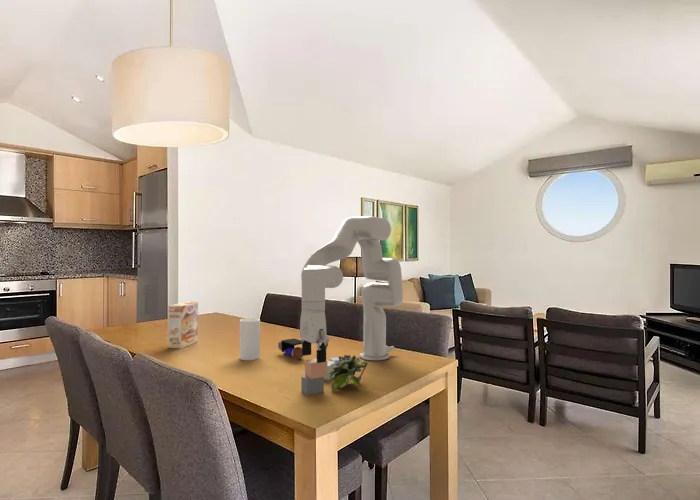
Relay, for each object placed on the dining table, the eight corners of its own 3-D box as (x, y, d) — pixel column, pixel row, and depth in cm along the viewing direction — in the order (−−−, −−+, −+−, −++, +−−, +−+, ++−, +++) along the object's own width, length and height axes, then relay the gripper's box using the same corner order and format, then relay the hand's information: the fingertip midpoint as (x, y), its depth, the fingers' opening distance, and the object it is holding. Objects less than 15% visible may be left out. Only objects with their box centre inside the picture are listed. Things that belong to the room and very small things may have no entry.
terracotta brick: (321, 372, 141) (321, 357, 141) (327, 375, 138) (327, 360, 138) (305, 375, 138) (305, 360, 138) (310, 379, 134) (311, 363, 134)
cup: (263, 356, 180) (264, 318, 180) (251, 361, 173) (251, 321, 173) (248, 354, 184) (248, 317, 184) (235, 358, 176) (235, 320, 176)
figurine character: (277, 357, 185) (293, 361, 173) (276, 339, 186) (292, 341, 174) (291, 355, 189) (308, 358, 177) (290, 337, 190) (307, 339, 178)
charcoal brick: (317, 388, 140) (317, 373, 140) (323, 392, 137) (323, 376, 137) (301, 391, 137) (301, 376, 137) (307, 395, 134) (307, 379, 134)
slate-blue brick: (345, 370, 162) (345, 356, 162) (348, 373, 158) (348, 359, 158) (330, 371, 161) (330, 357, 160) (332, 374, 157) (332, 360, 157)
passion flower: (343, 401, 146) (356, 364, 152) (367, 404, 137) (380, 365, 143) (317, 385, 140) (331, 348, 147) (340, 388, 131) (355, 347, 138)
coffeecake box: (181, 348, 193) (181, 305, 193) (167, 348, 194) (167, 305, 194) (198, 341, 208) (198, 301, 208) (185, 341, 209) (185, 301, 209)
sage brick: (325, 374, 156) (325, 360, 156) (335, 375, 155) (335, 361, 155) (318, 378, 151) (318, 364, 151) (328, 380, 149) (329, 366, 149)
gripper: (291, 303, 142) (291, 354, 143) (316, 310, 128) (316, 367, 128) (310, 301, 146) (311, 350, 147) (337, 308, 132) (337, 363, 133)
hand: (313, 358), depth 138 cm, fingers open, 9 cm apart
